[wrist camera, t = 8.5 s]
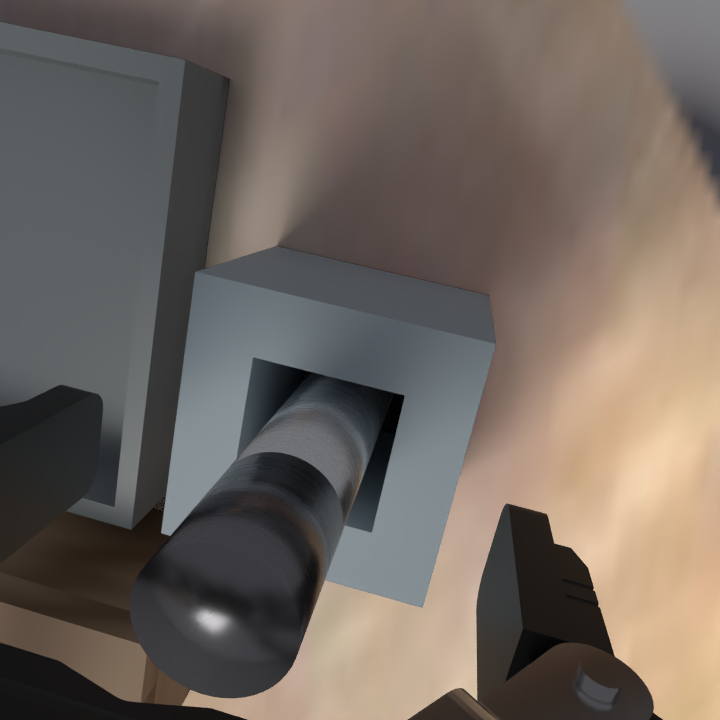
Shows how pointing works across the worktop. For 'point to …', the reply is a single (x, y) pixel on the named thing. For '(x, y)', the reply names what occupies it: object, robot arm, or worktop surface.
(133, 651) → the walnut block
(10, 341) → the tray
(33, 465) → the robot arm
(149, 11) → the worktop surface
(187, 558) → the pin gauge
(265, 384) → the grey socket cube
